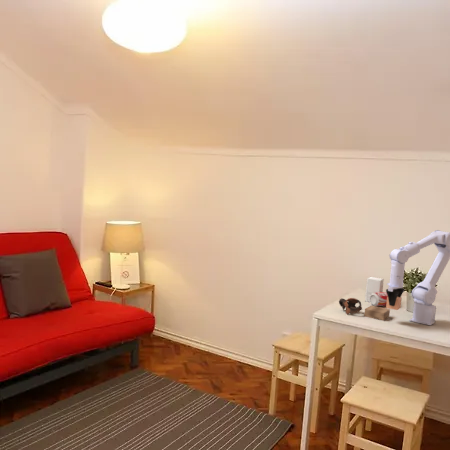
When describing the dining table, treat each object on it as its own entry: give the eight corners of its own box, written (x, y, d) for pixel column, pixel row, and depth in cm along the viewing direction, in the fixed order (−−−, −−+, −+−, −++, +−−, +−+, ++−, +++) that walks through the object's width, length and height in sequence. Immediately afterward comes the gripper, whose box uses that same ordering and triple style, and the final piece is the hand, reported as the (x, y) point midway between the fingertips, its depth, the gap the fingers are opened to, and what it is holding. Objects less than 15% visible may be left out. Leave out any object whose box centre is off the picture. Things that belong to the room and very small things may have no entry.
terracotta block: (400, 308, 219) (401, 297, 219) (397, 310, 216) (398, 299, 215) (389, 305, 223) (390, 295, 222) (386, 307, 219) (387, 297, 218)
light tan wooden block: (389, 317, 229) (389, 309, 228) (383, 321, 221) (383, 313, 221) (370, 313, 234) (371, 305, 233) (364, 317, 227) (364, 308, 226)
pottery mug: (363, 313, 234) (366, 301, 229) (354, 324, 228) (357, 312, 223) (341, 302, 240) (343, 290, 235) (332, 313, 234) (334, 301, 229)
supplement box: (382, 301, 259) (384, 278, 258) (378, 304, 253) (380, 280, 251) (368, 298, 263) (370, 276, 261) (364, 301, 256) (366, 278, 255)
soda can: (371, 289, 248) (389, 289, 253) (366, 300, 251) (384, 299, 256) (379, 298, 242) (397, 297, 247) (374, 309, 245) (392, 308, 250)
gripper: (393, 272, 226) (390, 300, 227) (382, 275, 214) (379, 305, 216) (408, 274, 221) (405, 303, 223) (398, 278, 210) (395, 308, 211)
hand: (393, 304), depth 219 cm, fingers closed on terracotta block, 5 cm apart
